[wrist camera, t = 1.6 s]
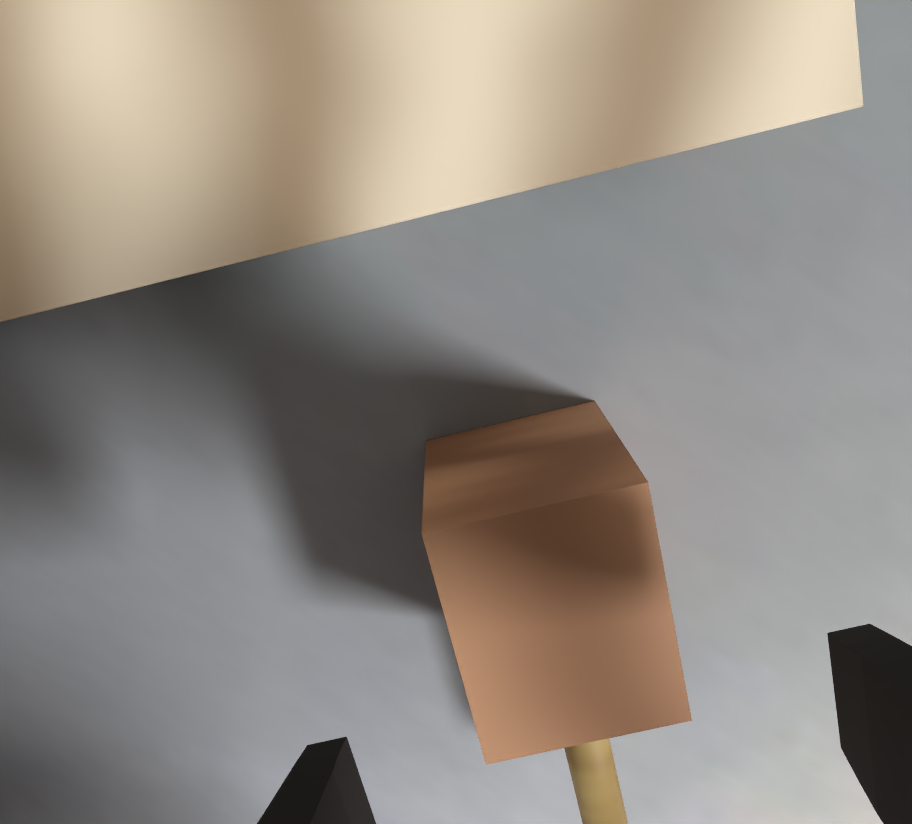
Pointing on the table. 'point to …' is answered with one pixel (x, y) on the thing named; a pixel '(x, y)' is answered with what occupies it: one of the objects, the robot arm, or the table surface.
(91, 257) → the board
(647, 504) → the brown wooden block
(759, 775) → the table surface
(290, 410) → the table surface
